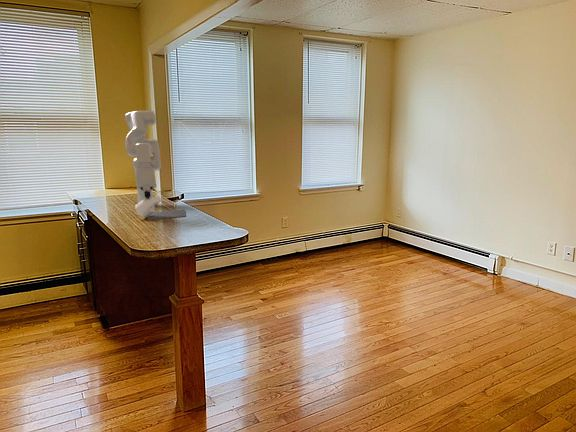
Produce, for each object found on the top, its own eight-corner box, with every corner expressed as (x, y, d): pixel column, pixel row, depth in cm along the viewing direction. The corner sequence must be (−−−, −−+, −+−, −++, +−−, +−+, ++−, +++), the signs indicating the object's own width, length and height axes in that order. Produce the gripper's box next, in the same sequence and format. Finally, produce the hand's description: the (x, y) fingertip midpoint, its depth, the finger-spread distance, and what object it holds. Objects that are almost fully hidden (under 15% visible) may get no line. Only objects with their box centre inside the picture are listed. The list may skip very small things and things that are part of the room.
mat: (149, 213, 254) (149, 212, 254) (184, 210, 259) (184, 209, 258) (148, 220, 235) (147, 219, 235) (185, 216, 240) (185, 215, 239)
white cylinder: (142, 219, 238) (158, 207, 235) (132, 205, 237) (148, 193, 234) (149, 216, 246) (165, 204, 244) (140, 203, 246) (155, 191, 243)
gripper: (158, 164, 244) (161, 196, 248) (130, 166, 240) (134, 198, 244) (158, 165, 237) (161, 198, 240) (129, 167, 233) (133, 200, 237)
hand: (147, 198), depth 242 cm, fingers closed
